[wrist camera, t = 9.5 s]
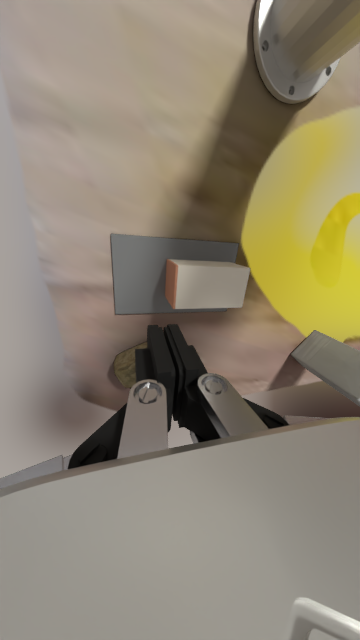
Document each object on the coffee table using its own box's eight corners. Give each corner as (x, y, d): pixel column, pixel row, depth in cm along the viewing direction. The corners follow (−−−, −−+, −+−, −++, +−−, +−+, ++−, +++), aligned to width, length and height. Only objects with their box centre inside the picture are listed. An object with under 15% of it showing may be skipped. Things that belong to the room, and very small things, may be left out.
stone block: (112, 354, 35) (110, 371, 31) (170, 328, 36) (177, 342, 32) (126, 376, 38) (126, 395, 34) (180, 352, 39) (187, 367, 35)
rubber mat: (110, 233, 27) (110, 233, 27) (237, 243, 33) (238, 243, 32) (115, 313, 32) (115, 314, 32) (225, 310, 38) (226, 311, 37)
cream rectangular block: (176, 265, 25) (250, 268, 28) (166, 259, 30) (230, 262, 33) (173, 309, 28) (241, 307, 31) (164, 296, 33) (224, 295, 36)
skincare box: (300, 364, 50) (368, 416, 36) (287, 352, 47) (357, 403, 33) (325, 340, 49) (406, 385, 35) (314, 326, 46) (398, 368, 32)
